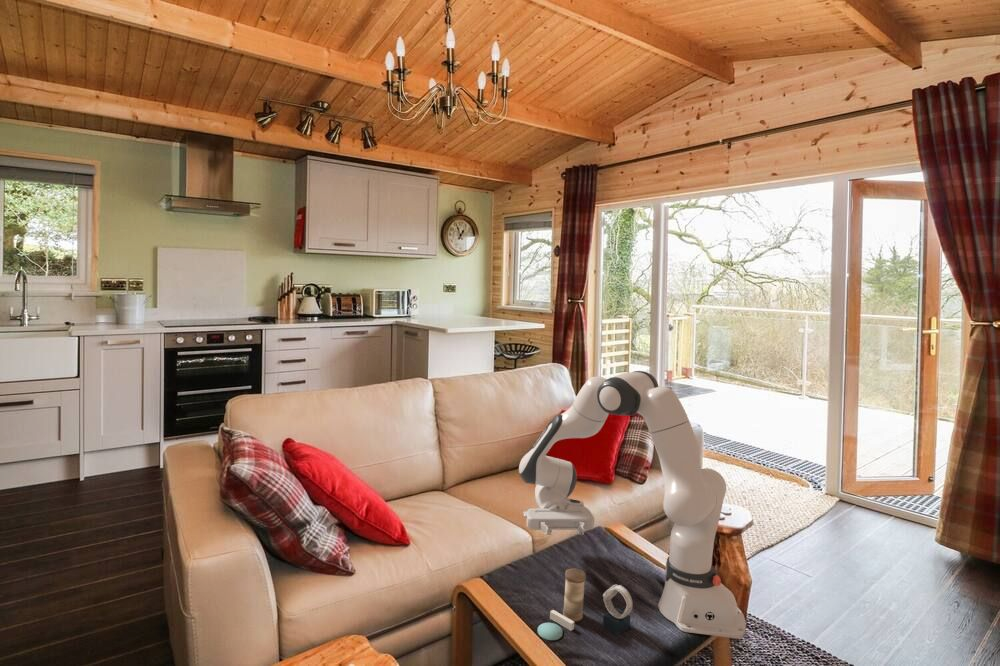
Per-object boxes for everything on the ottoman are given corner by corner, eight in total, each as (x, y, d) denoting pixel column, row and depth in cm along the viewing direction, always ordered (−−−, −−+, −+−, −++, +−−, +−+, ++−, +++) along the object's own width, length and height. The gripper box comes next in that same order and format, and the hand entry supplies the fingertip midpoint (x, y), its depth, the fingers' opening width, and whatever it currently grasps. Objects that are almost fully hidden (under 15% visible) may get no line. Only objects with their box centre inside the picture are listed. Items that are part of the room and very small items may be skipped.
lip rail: (549, 618, 151) (550, 611, 151) (552, 616, 152) (552, 609, 152) (571, 631, 146) (571, 623, 146) (573, 628, 147) (574, 621, 147)
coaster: (565, 627, 147) (565, 626, 147) (559, 643, 141) (559, 641, 141) (541, 621, 149) (541, 620, 149) (534, 636, 143) (534, 635, 143)
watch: (611, 614, 154) (613, 576, 152) (635, 630, 148) (638, 591, 146) (597, 622, 150) (599, 583, 149) (621, 638, 144) (624, 598, 143)
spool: (584, 612, 154) (587, 571, 153) (580, 624, 149) (583, 581, 148) (565, 607, 156) (567, 566, 154) (560, 619, 151) (563, 576, 149)
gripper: (522, 500, 174) (530, 522, 161) (587, 501, 177) (600, 522, 163) (521, 520, 175) (528, 542, 162) (586, 520, 178) (598, 542, 164)
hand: (565, 532), depth 162 cm, fingers open, 8 cm apart
